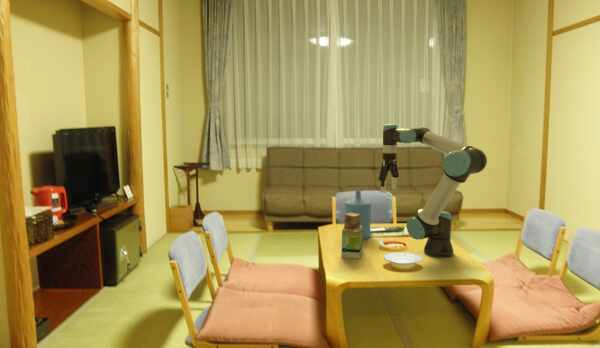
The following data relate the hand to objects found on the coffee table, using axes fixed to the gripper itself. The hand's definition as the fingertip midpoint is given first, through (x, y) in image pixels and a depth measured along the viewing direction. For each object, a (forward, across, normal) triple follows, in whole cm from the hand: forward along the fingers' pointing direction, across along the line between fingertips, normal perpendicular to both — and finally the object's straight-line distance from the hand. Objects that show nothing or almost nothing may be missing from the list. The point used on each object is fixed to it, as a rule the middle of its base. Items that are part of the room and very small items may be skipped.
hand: (388, 190), depth 270 cm
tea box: (+32, +24, -9) cm, 41 cm away
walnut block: (+17, +24, -9) cm, 31 cm away
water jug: (+32, -9, -24) cm, 41 cm away
